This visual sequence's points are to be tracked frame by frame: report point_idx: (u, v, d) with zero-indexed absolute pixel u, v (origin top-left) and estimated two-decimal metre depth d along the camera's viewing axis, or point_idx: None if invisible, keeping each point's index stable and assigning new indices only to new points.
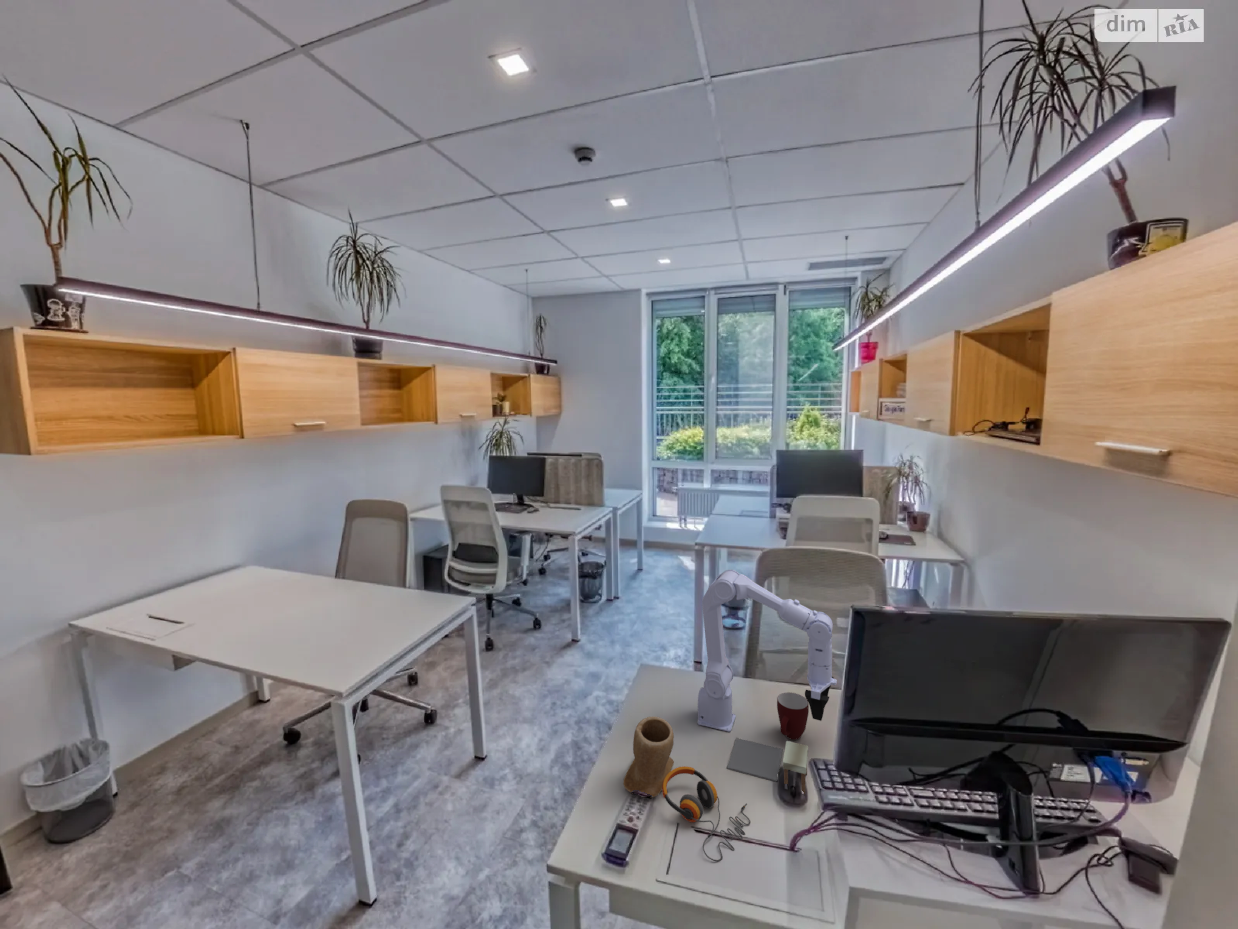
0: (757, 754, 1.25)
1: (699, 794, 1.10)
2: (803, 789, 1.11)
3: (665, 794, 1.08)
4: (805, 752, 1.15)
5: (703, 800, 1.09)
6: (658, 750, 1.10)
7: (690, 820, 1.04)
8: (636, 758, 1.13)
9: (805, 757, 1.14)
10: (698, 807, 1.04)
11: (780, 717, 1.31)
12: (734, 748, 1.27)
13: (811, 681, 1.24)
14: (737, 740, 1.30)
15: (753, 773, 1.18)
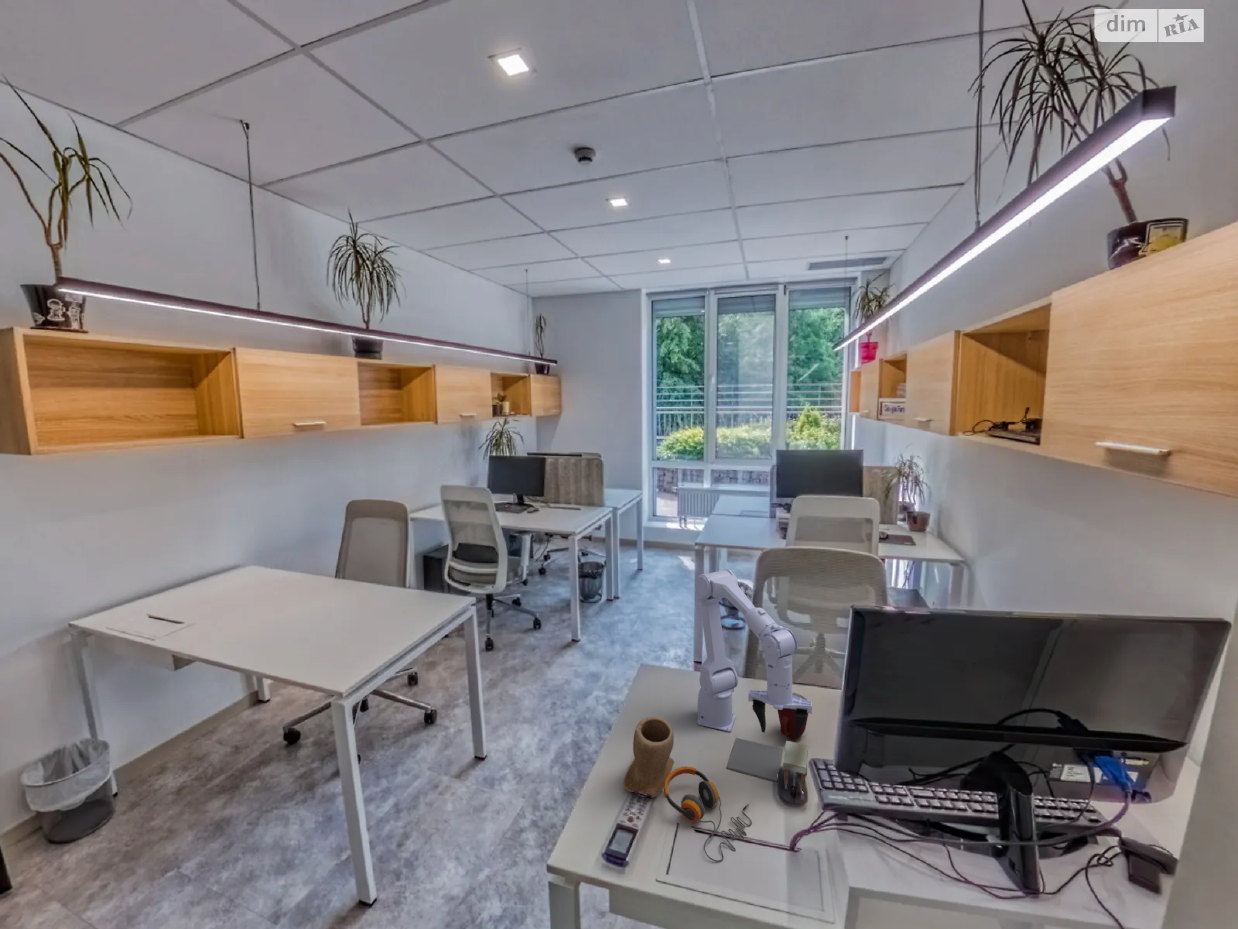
0: (757, 754, 1.25)
1: (701, 794, 1.10)
2: (803, 789, 1.11)
3: (666, 794, 1.08)
4: (805, 752, 1.15)
5: (704, 800, 1.09)
6: (658, 750, 1.10)
7: (691, 820, 1.04)
8: (636, 758, 1.13)
9: (805, 757, 1.14)
10: (699, 807, 1.04)
11: (780, 717, 1.31)
12: (734, 748, 1.27)
13: None
14: (737, 740, 1.30)
15: (753, 773, 1.18)
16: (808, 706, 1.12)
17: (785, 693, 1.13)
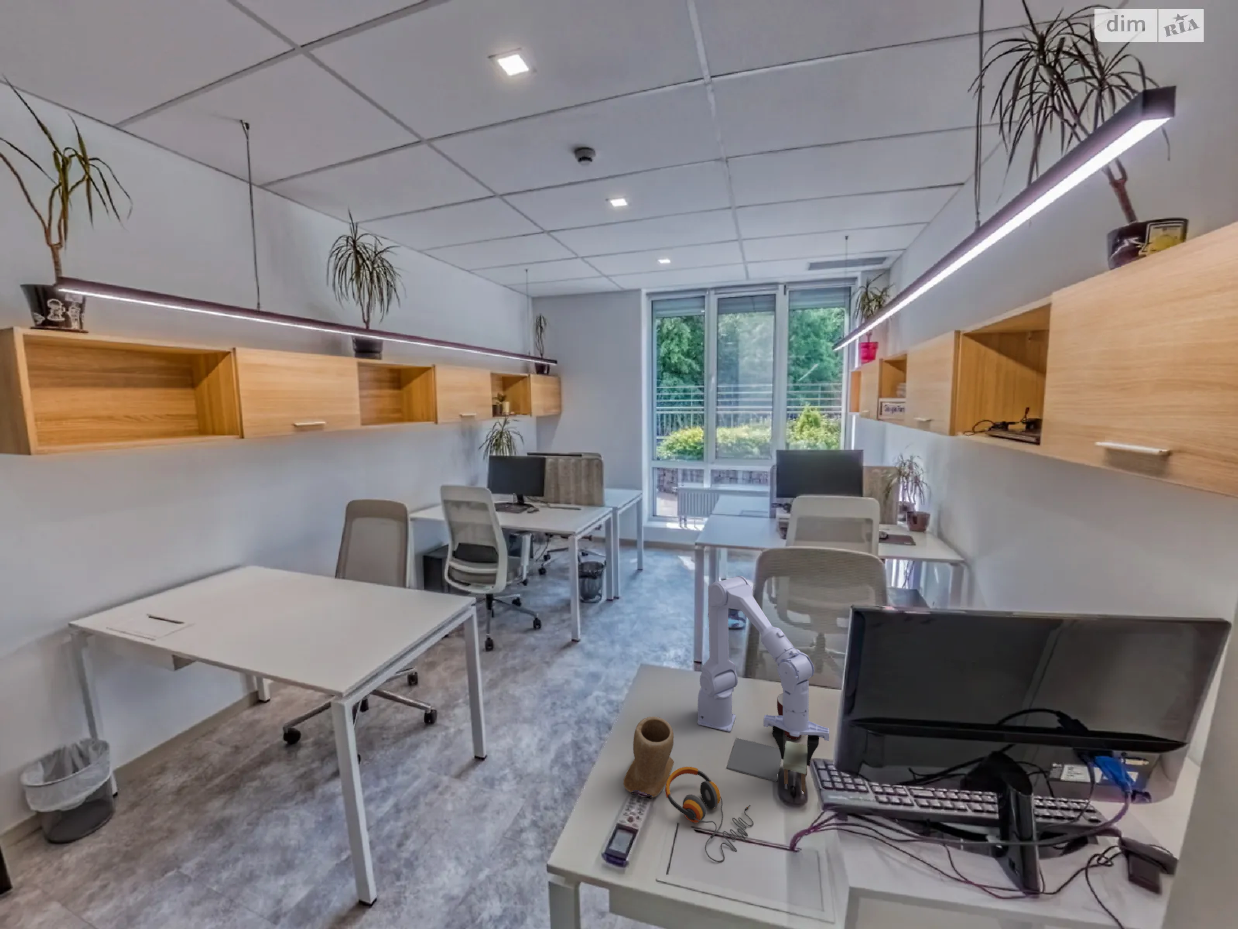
0: (757, 754, 1.25)
1: (702, 794, 1.10)
2: (803, 789, 1.11)
3: (668, 794, 1.08)
4: (805, 752, 1.15)
5: (706, 801, 1.09)
6: (658, 750, 1.10)
7: (693, 820, 1.04)
8: (636, 758, 1.13)
9: (805, 757, 1.14)
10: (701, 807, 1.04)
11: None
12: (734, 748, 1.27)
13: None
14: (737, 740, 1.30)
15: (753, 773, 1.18)
16: (825, 733, 1.11)
17: (802, 720, 1.11)
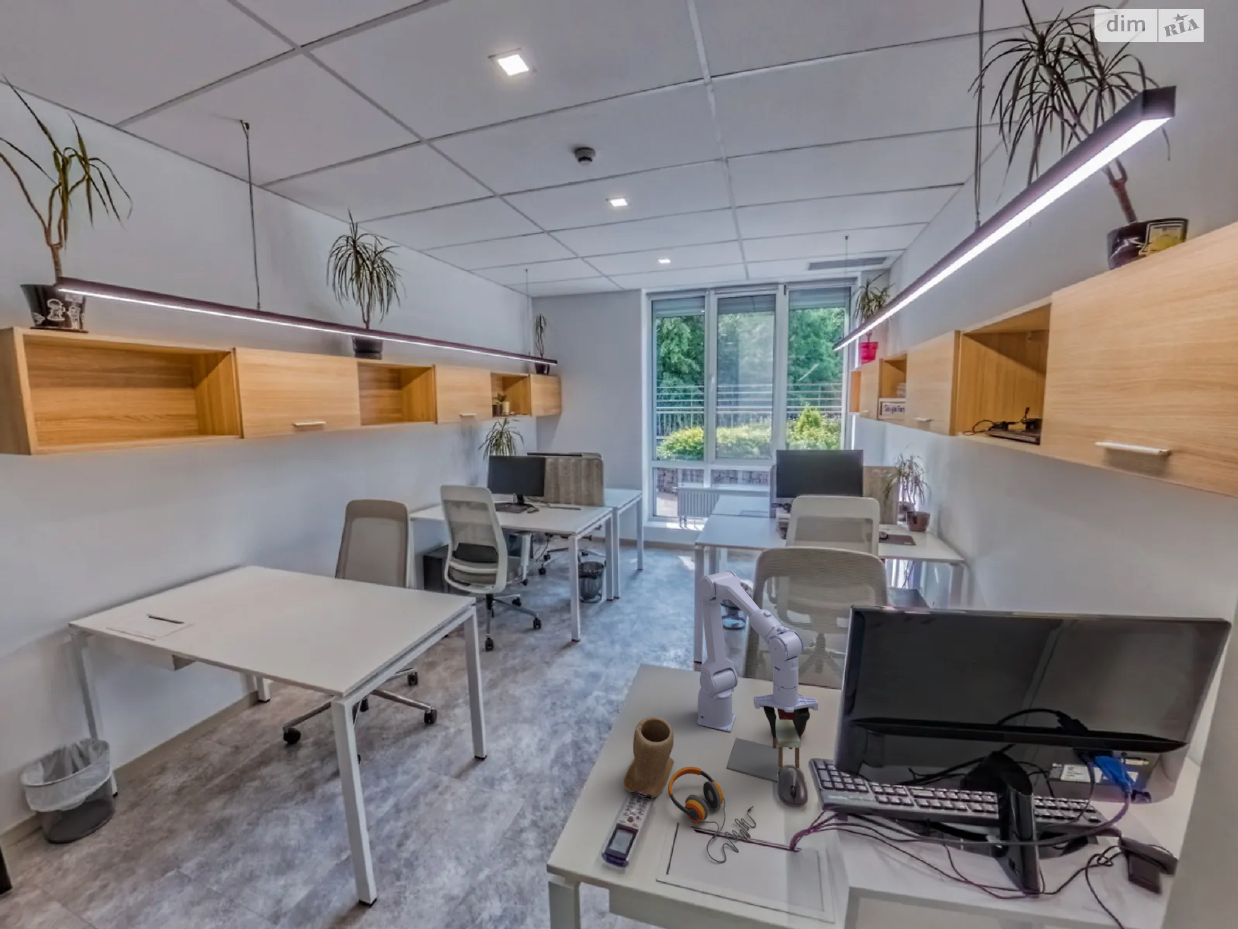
0: (757, 754, 1.25)
1: (705, 795, 1.10)
2: (797, 763, 1.13)
3: (670, 794, 1.08)
4: (793, 726, 1.18)
5: (708, 801, 1.09)
6: (658, 750, 1.10)
7: (695, 820, 1.04)
8: (636, 758, 1.13)
9: (795, 731, 1.16)
10: (703, 808, 1.04)
11: (780, 717, 1.31)
12: (734, 748, 1.27)
13: (772, 696, 1.18)
14: (737, 740, 1.30)
15: (753, 773, 1.18)
16: (814, 703, 1.14)
17: (795, 694, 1.13)
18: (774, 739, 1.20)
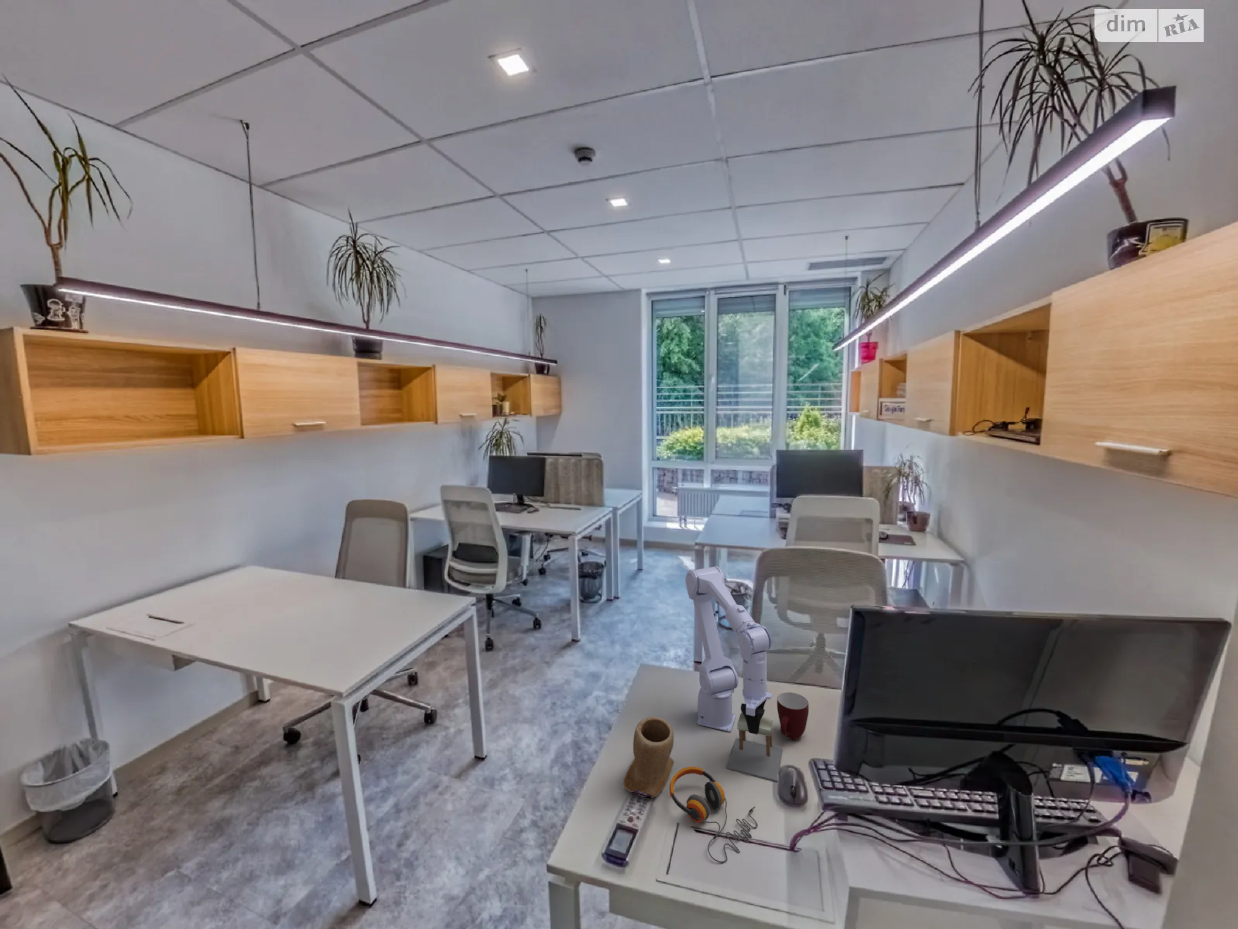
0: (757, 754, 1.25)
1: (707, 795, 1.10)
2: (771, 741, 1.23)
3: (672, 793, 1.08)
4: None
5: (710, 801, 1.09)
6: (658, 750, 1.10)
7: (696, 820, 1.04)
8: (636, 758, 1.13)
9: None
10: (704, 808, 1.04)
11: (780, 717, 1.31)
12: (734, 748, 1.27)
13: (746, 696, 1.20)
14: (737, 740, 1.30)
15: (753, 773, 1.18)
16: None
17: None
18: (742, 740, 1.22)
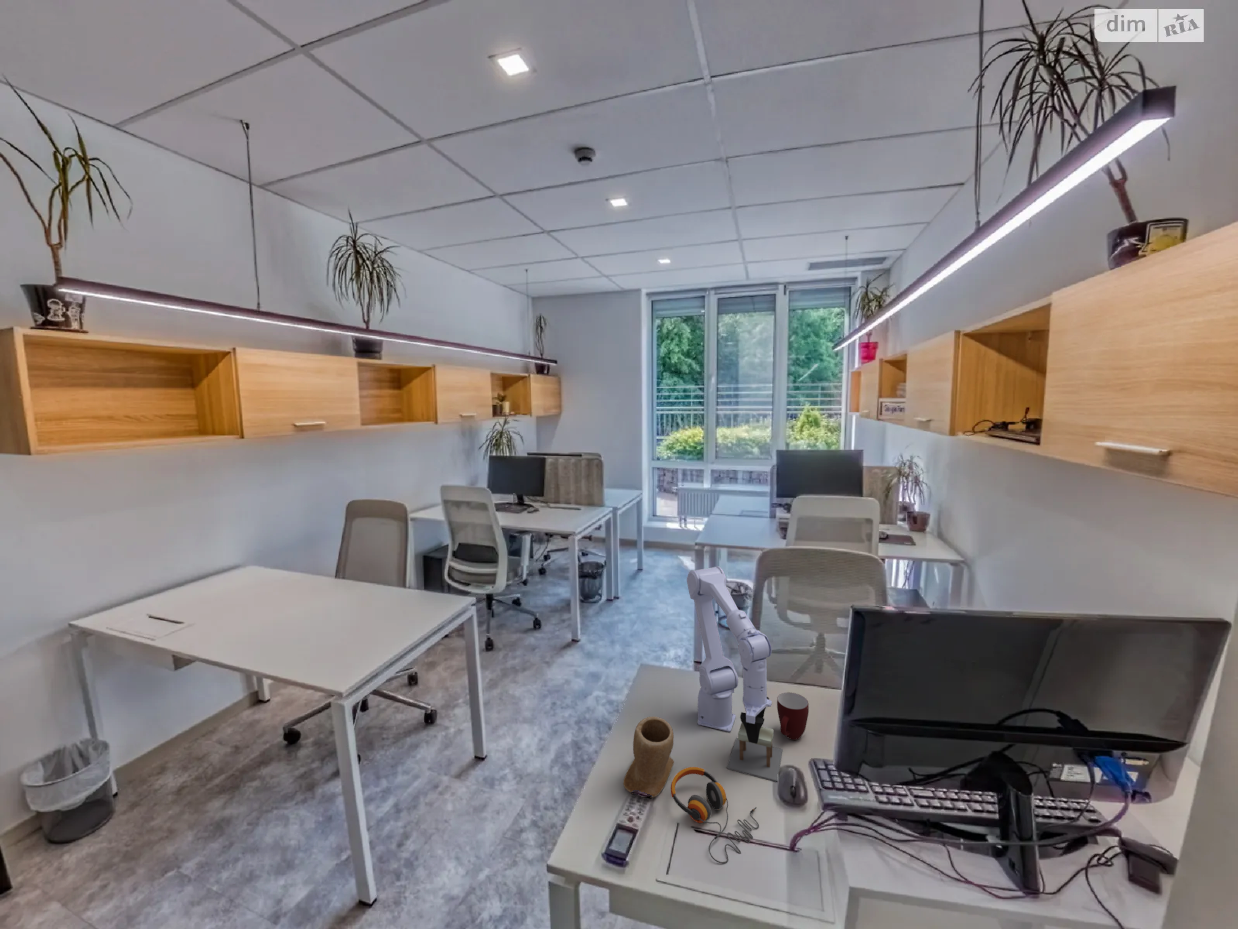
0: (757, 754, 1.25)
1: (708, 795, 1.10)
2: None
3: (673, 794, 1.08)
4: None
5: (711, 802, 1.09)
6: (658, 750, 1.10)
7: (697, 821, 1.04)
8: (636, 758, 1.13)
9: None
10: (706, 808, 1.04)
11: (780, 717, 1.31)
12: (734, 748, 1.27)
13: (746, 704, 1.20)
14: (737, 740, 1.30)
15: (753, 773, 1.18)
16: None
17: None
18: None
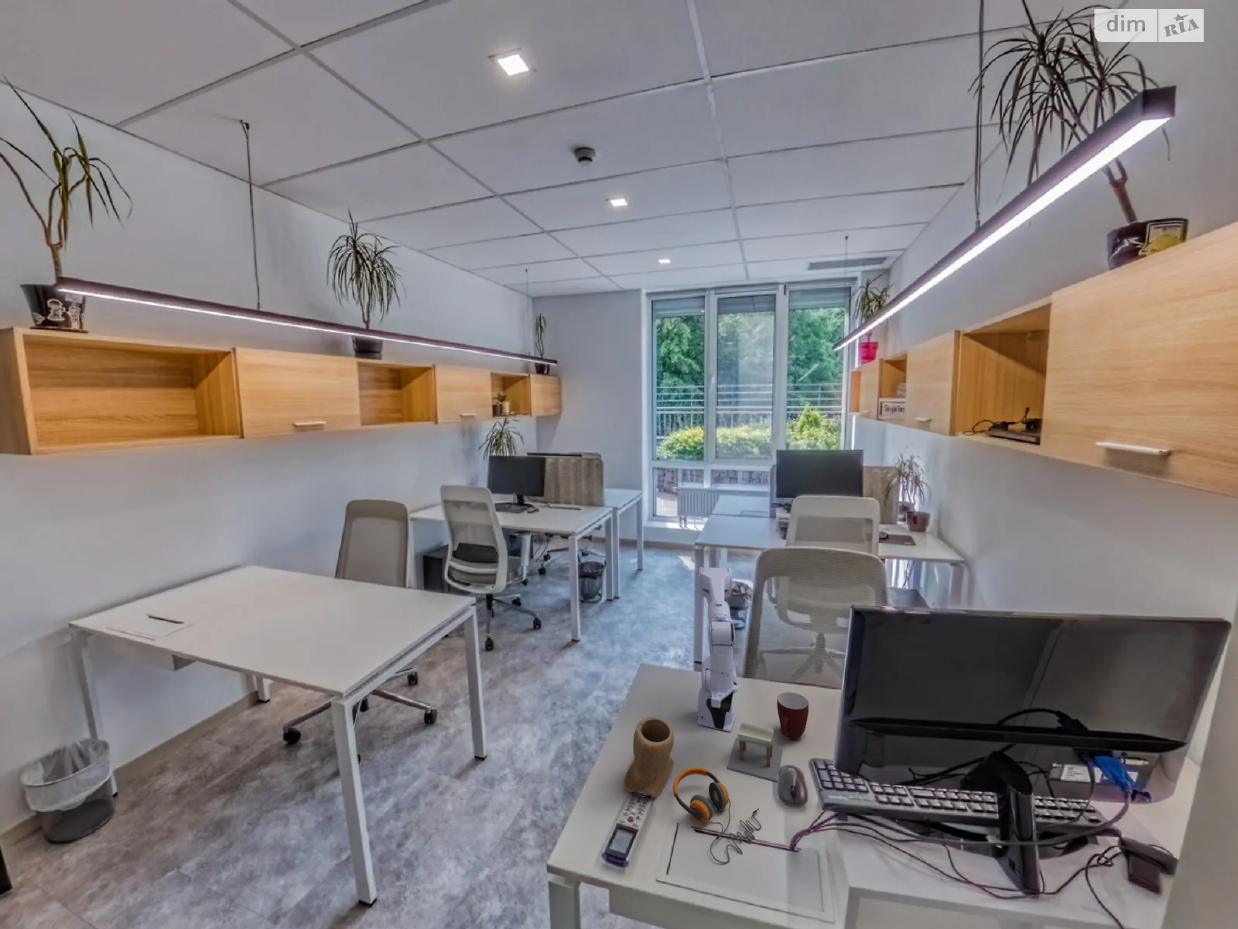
0: (757, 754, 1.25)
1: (711, 795, 1.10)
2: None
3: (675, 793, 1.08)
4: (752, 725, 1.25)
5: (714, 802, 1.09)
6: (658, 750, 1.10)
7: (699, 821, 1.04)
8: (636, 758, 1.13)
9: (759, 727, 1.25)
10: (708, 808, 1.04)
11: (780, 717, 1.31)
12: (734, 748, 1.27)
13: (713, 689, 1.21)
14: (737, 740, 1.30)
15: (753, 773, 1.18)
16: None
17: None
18: None
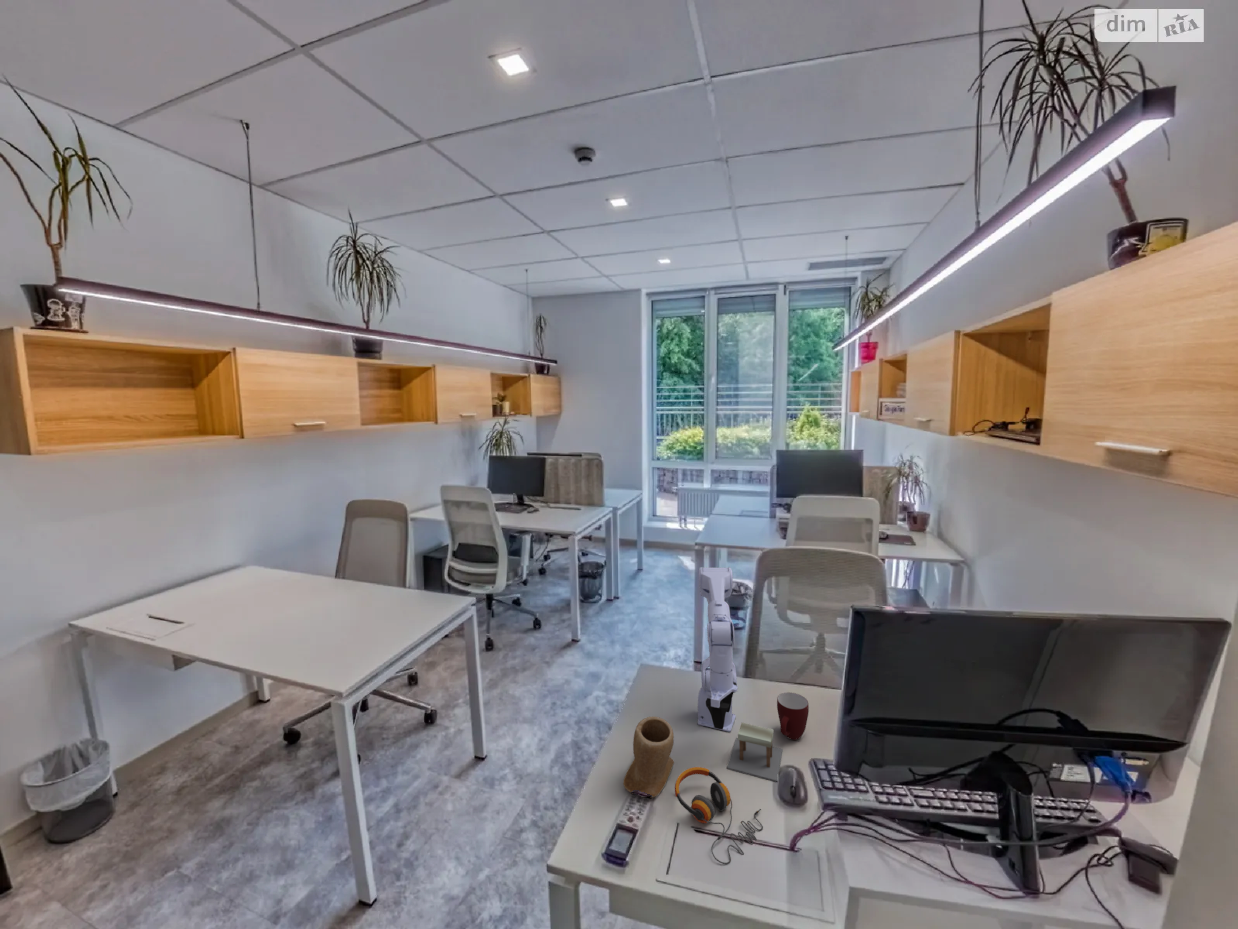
0: (757, 754, 1.25)
1: (712, 796, 1.10)
2: None
3: (677, 793, 1.08)
4: (752, 725, 1.25)
5: (715, 802, 1.09)
6: (658, 750, 1.10)
7: (701, 821, 1.04)
8: (636, 758, 1.13)
9: (759, 727, 1.25)
10: (709, 808, 1.04)
11: (780, 717, 1.31)
12: (734, 748, 1.27)
13: (712, 689, 1.21)
14: (737, 740, 1.30)
15: (753, 773, 1.18)
16: None
17: None
18: None
